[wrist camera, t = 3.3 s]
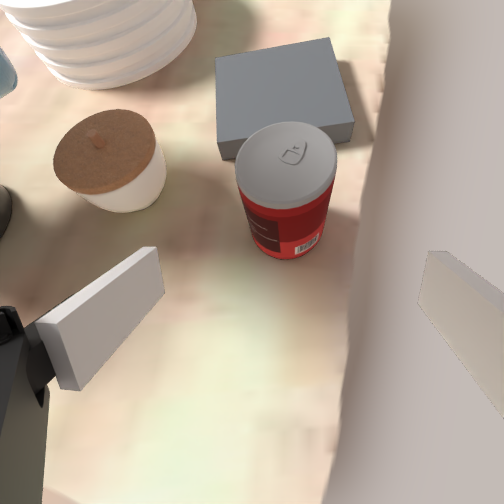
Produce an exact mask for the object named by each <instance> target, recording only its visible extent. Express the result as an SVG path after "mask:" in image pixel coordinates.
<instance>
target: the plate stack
mask: <svg viewBox="0 0 504 504" xmlns="http://www.w3.org/2000/svg"><path fill="white" fill-rule="evenodd" d="M0 9H2V10H3V11H4V12H5V14H6V16H7V18H8V19H9V20H10V21H11V23H12V24H13V25H14V26H15V28H16V29H17V30H18V31H20V33H21V35H22V36H23V38H24V39H25V40H26V41H27V43H28V44H29V45H30V46H31V47H32V48H33V49H34V50H35V52H36V54H37V55H38V56H39V58H40V59H41V60H42V61H43V63H44V64H45V65H47V67H48V69H49V70H50V71H51V73H52V74H53V75H54V76H55V77H56V79H58V80H59V81H60V82H62V83H63V84H65V85H68V86H70V87H73V88H78V89H85V90H100V89H109V88H114V87H119V86H123V85H126V84H130V83H133V82H135V81H138V80H140V79H143V78H145V77H147V76H149V75H151V74H153V73H155V72H157V71H158V70H160V69H162V68H163V67H165V66H166V65H167V64H169V63H170V62H171V61H173V60H174V59H175V58H176V57H177V56H178V55H179V54H180V53H181V52H182V51H183V50H184V49H185V48H186V47H187V45H188V44H189V42H190V41H191V39H192V37H193V35H194V33H195V30H196V26H197V16H196V12H195V9H194V6H193V3H192V0H0Z"/></svg>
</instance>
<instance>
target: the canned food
mask: <svg viewBox="0 0 504 504" xmlns="http://www.w3.org/2000/svg"><path fill="white" fill-rule="evenodd" d="M336 169H337V152H336V148H335V145H334V144H333V142H332V140H331V139H330V137H329V136H328V135H327V134H326V133H325V132H323V131H322V130H320V129H319V128H317V127H315V126H313V125H310V124H306V123H303V122H293V121H291V122H281V123H276V124H272V125H269V126H267V127H264V128H262V129H261V130H259V131H257V132H256V133H254V134H253V135H252V136H250V137H249V138H248V139H247V140H246V141H245V142H244V144H243V145H242V147H241V148H240V150H239V152H238V154H237V157H236V161H235V174H236V181H237V184H238V189H239V192H240V195H241V199H242V202H243V205H244V209H245V212H246V215H247V219H248V222H249V226H250V229H251V232H252V236H253V239H254V241H255V243H256V244H257V246H258V247H259V248H260V249H261V250H262V251H263V252H265V253H266V254H268V255H270V256H272V257H274V258H278V259H293V258H297V257H300V256H302V255H304V254H305V253H307V252H309V251H310V250H311V249H312V248H313V247H314V246H315V245H316V244H317V242H318V241H319V239H320V237H321V235H322V232H323V227H324V223H325V219H326V214H327V210H328V206H329V201H330V197H331V193H332V188H333V184H334V180H335V174H336Z"/></svg>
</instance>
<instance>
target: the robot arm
mask: <svg viewBox="0 0 504 504" xmlns="http://www.w3.org/2000/svg"><path fill="white" fill-rule="evenodd" d="M16 86H17V74H16V71H15V69H14V67H13V65H12V64H11V62H10V60H9V59H8V57H7V56H6V54H5V53H4V51H3V50H2V48H1V47H0V99H1V98H2V97H4V96H5V95H7V94H9V93H10V92H12V91H13V90H14V89H15V88H16ZM11 210H12V203H11V198H10V195H9V193H8V191H7V190H6V189H5V188H4V187H3V186H2V185H0V238H1V236H2V234H3V233H4V231H5V229H6V227H7V225H8V222H9V219H10V215H11ZM164 294H165V290H164V285H163V279H162V273H161V268H160V262H159V256H158V251H157V247H142V248H141V249H139V250H138V251H136V252H135V253H133V254H132V255H131V256H129V257H128V258H126V259H125V260H123V261H122V262H120V263H119V264H118V265H116V266H115V267H113V268H112V269H110V270H109V271H108V272H106V273H105V274H103V275H102V276H100V277H99V278H97V279H96V280H95V281H93V282H92V283H90V284H89V285H87V286H86V287H85V288H83V289H82V290H80V291H79V292H77V293H76V294H73V295H71V296H70V297H68V298H67V299H65V300H64V301H62V302H61V304H58V305H57V306H55V307H54V308H53V309H52V310H49V311H48V312H47V313H45V314H44V315H42V316H41V317H39V318H38V319H36V320H35V321H33V322H32V323H31V324H29V325H28V326H26V327H25V328H23V325H22V323H21V320H20V318H19V316H18V313H17V311H16V308H15V307H12V306H1V307H0V504H42V491H43V478H44V465H45V451H46V438H47V425H48V411H49V398H50V392H49V388H48V386H47V384H48V383H49V382H50V381H51V380H52V379H53V378H54V377H55V376H56V378H57V381H58V384H59V386H60V389H64V390H74V391H81V390H82V389H83V388H84V387H85V386H86V384H87V383H88V382H89V381H90V380H91V379H92V377H93V376H94V375H95V374H96V373H97V372H98V370H99V369H100V368H101V367H102V366H103V365H104V363H105V362H106V361H107V360H108V359H109V358H110V356H111V355H112V354H113V353H114V352H115V351H116V349H117V348H118V347H119V346H120V345H121V344H122V342H123V341H124V340H125V339H126V338H127V337H128V335H129V334H130V333H131V332H132V331H133V330H134V328H135V327H136V326H137V325H138V324H139V323H140V321H141V320H142V319H143V318H144V317H145V316H146V314H147V313H148V312H149V311H150V310H151V309H152V307H153V306H154V305H155V304H156V303H157V302H158V300H159V299H160V298H161V297H162V296H163V295H164ZM418 305H419V306H420V307H421V309H422V310H423V311H424V313H425V314H426V315H427V317H428V318H429V319H430V321H431V322H432V324H433V325H434V326H435V327H436V329H437V330H438V332H439V333H440V334H441V335H442V337H443V338H444V340H445V341H446V342H447V344H448V345H449V346H450V348H451V349H452V350H453V351H454V353H455V354H456V356H457V357H458V358H459V360H460V361H461V362H462V364H463V365H464V366H465V368H466V369H467V370H468V372H469V373H470V374H471V376H472V377H473V378H474V380H475V381H476V382H477V384H478V385H479V386H480V388H481V389H482V390H483V392H484V393H485V395H486V396H487V397H488V399H489V400H490V401H491V403H492V404H493V405H494V407H495V408H496V409H497V411H498V412H499V413H500V415H501V416H502V417H503V419H504V293H503V292H502V291H500V290H499V289H498V288H496V287H495V286H494V285H492V284H491V283H489V282H488V281H487V280H485V279H484V278H483V277H481V276H480V275H479V274H477V273H476V272H474V271H473V270H472V269H470V268H469V267H468V266H466V265H465V264H464V263H462V262H461V261H459V260H458V259H457V258H455V257H454V256H453V255H451V254H450V253H449V252H447V251H429V252H428V256H427V260H426V265H425V270H424V275H423V280H422V284H421V289H420V294H419V299H418Z"/></svg>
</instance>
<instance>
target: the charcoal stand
mask: <svg viewBox="0 0 504 504" xmlns="http://www.w3.org/2000/svg"><path fill="white" fill-rule="evenodd" d="M215 74H216V123H217V144H218V147H219V151H220V154H221V157H222V160H227V159H233V158H236V157H237V154H238V152H239V150H240V148H241V147H242V145H243V144H244V142H245V141H246V140H247V139H248V138H249V137H250V136H252V135H253V134H254V133H256V132H257V131H259V130H261V129H262V128H264V127H267V126H269V125H272V124H276V123H281V122H291V121H293V122H303V123H306V124H310V125H313V126H315V127H317V128H319V129H320V130H322V131H323V132H325V133H326V134H327V135H328V136H329V137H330V139H331V140H332V142H333V144H336V143H343V142H349V141H350V138H351V134H352V130H353V126H354V122H355V121H354V118H353V114H352V111H351V108H350V104H349V101H348V98H347V94H346V91H345V88H344V84H343V81H342V78H341V74H340V71H339V68H338V64H337V61H336V58H335V54H334V51H333V48H332V44H331V41H330V38H329V37H327V38H322V39H316V40H311V41H305V42H300V43H294V44H289V45H283V46H278V47H272V48H267V49H261V50H256V51H250V52H245V53H239V54H234V55H228V56H223V57H217V58H215Z"/></svg>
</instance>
